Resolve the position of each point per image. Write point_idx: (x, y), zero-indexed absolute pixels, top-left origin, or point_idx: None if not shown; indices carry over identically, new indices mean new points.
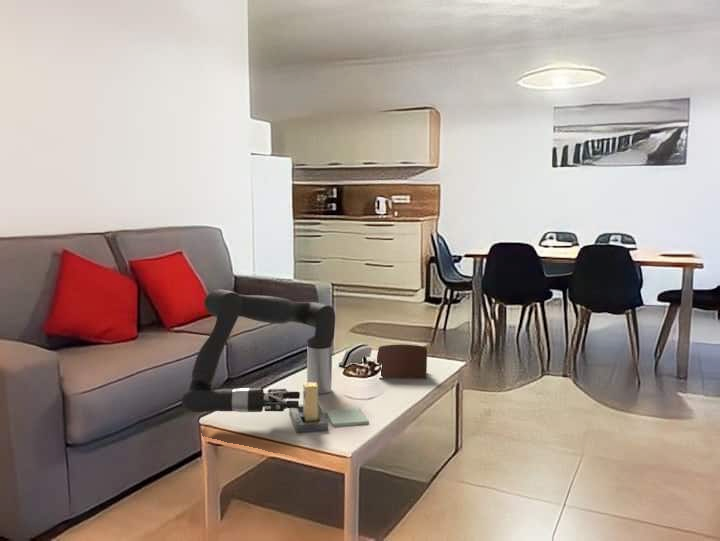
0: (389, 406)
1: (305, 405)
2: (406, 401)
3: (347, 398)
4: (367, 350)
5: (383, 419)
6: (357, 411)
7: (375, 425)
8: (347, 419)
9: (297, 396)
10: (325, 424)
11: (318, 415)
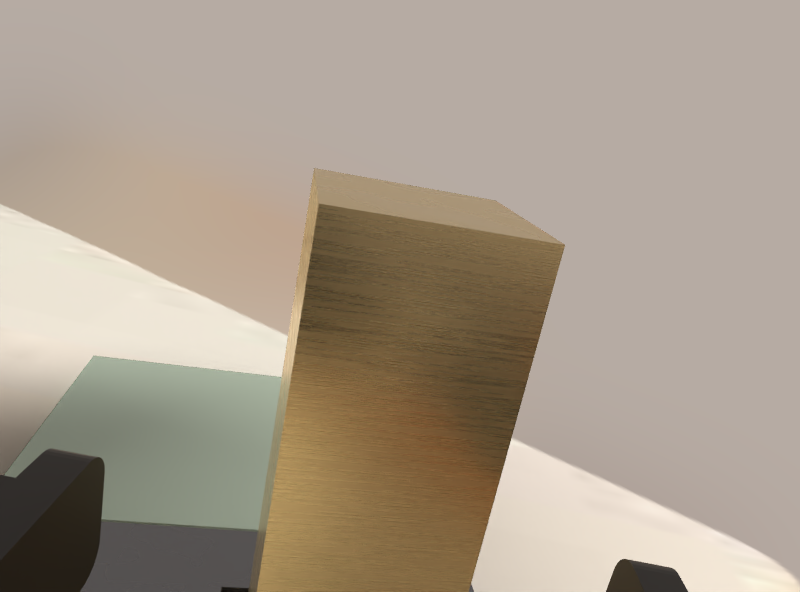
0: (105, 295)
1: (479, 550)
2: (80, 256)
3: None
4: None
5: (279, 350)
6: (147, 376)
7: None
8: None
9: (75, 555)
10: None
11: (225, 575)
